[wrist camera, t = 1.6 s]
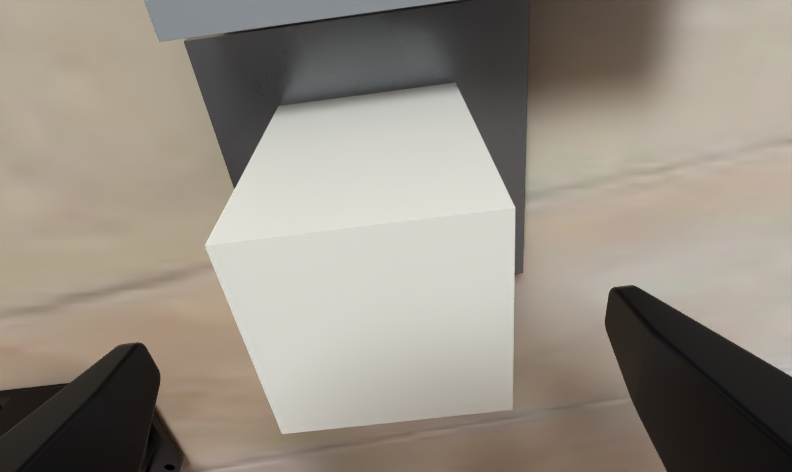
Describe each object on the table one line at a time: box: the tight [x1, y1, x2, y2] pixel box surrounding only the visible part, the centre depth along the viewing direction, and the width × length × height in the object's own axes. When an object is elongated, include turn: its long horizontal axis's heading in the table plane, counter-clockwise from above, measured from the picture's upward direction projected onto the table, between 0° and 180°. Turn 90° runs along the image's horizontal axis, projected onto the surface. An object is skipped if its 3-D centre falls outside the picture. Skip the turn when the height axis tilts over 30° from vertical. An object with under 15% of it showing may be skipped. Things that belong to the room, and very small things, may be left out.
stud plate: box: [184, 0, 530, 274], centre depth 14 cm, size 9×9×5 cm
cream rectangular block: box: [205, 82, 515, 434], centre depth 12 cm, size 5×5×7 cm
